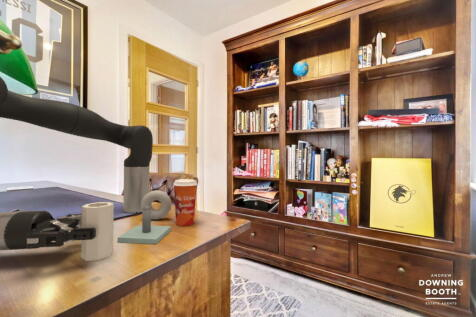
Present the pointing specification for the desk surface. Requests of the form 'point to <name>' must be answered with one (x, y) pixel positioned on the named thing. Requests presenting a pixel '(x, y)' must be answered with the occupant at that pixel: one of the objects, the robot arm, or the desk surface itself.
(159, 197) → the donut
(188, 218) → the paper cup
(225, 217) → the desk surface
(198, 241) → the desk surface
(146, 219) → the peg stand
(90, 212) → the white octagonal tube
